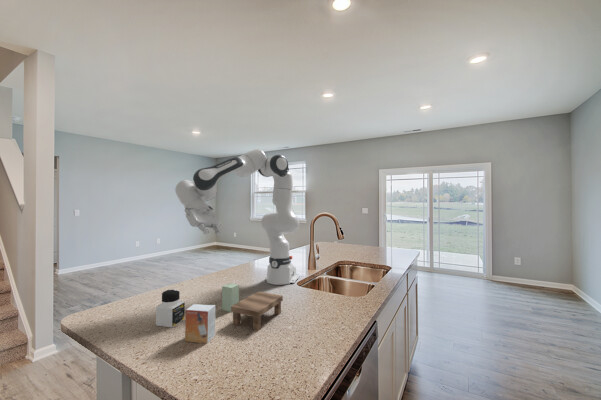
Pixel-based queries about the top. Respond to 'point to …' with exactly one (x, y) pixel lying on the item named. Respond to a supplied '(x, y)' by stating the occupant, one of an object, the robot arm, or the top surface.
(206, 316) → the small box
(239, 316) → the stool
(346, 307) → the top surface
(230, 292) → the green block
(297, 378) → the top surface
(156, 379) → the top surface
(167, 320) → the medicine bottle
